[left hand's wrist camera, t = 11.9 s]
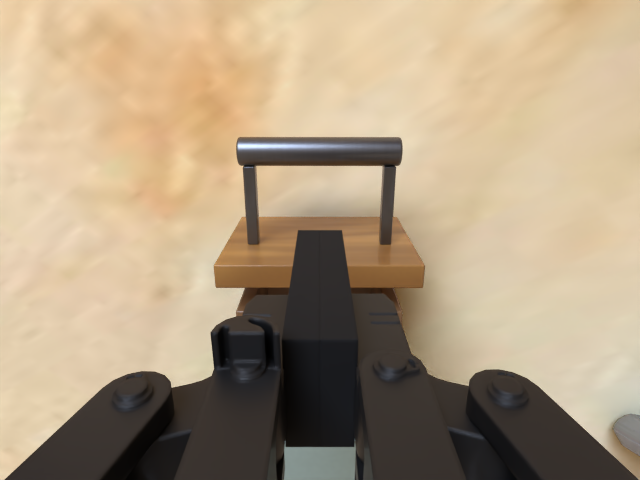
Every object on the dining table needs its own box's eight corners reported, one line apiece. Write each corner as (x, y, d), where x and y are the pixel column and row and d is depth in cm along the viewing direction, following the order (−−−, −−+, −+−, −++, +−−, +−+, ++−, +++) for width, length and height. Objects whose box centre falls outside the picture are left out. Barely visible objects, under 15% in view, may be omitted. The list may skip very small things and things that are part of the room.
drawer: (235, 127, 26) (202, 145, 18) (403, 127, 26) (436, 146, 18) (253, 400, 33) (234, 492, 25) (384, 400, 33) (403, 492, 25)
